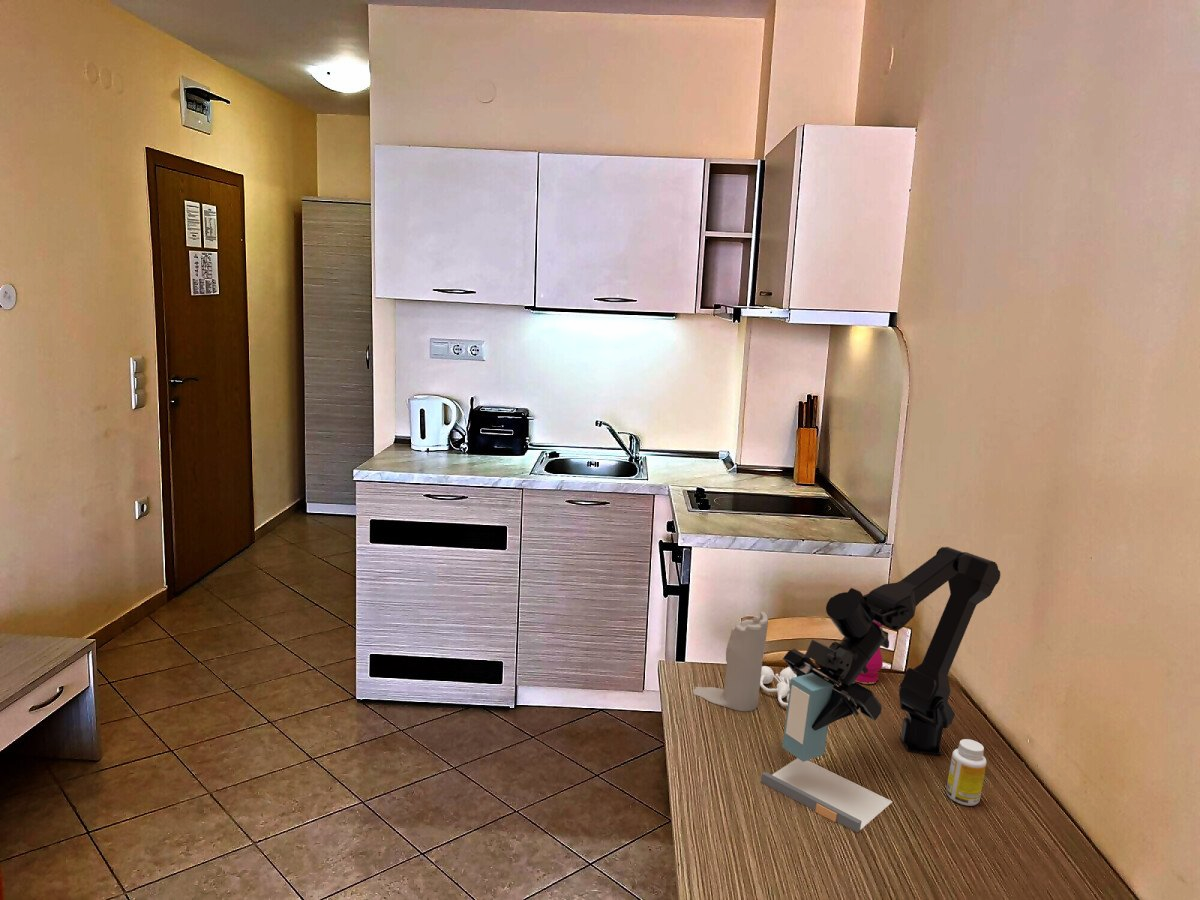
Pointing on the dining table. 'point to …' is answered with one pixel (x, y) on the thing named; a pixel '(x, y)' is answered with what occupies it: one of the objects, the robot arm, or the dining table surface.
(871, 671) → the pepper mill
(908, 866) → the dining table surface
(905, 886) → the dining table surface
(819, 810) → the ticket
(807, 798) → the white base plate
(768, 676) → the tangled rod sculpture
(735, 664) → the candle
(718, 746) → the dining table surface
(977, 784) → the supplement bottle
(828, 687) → the carton
